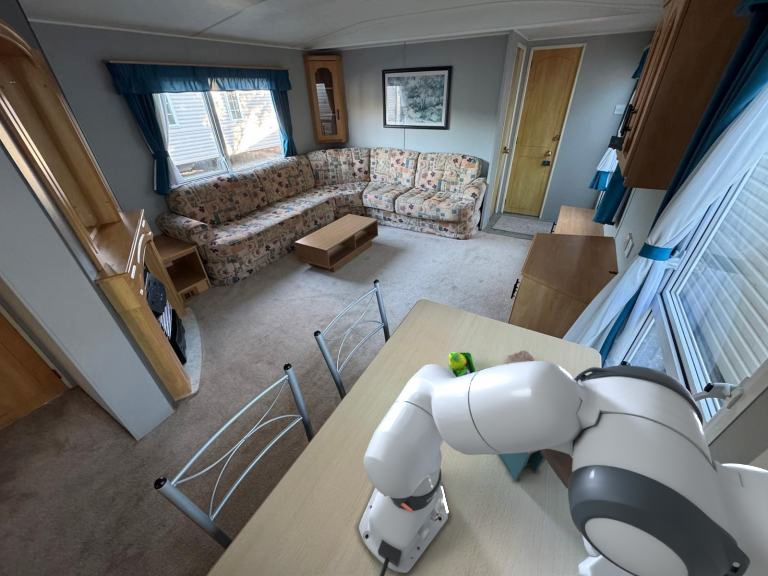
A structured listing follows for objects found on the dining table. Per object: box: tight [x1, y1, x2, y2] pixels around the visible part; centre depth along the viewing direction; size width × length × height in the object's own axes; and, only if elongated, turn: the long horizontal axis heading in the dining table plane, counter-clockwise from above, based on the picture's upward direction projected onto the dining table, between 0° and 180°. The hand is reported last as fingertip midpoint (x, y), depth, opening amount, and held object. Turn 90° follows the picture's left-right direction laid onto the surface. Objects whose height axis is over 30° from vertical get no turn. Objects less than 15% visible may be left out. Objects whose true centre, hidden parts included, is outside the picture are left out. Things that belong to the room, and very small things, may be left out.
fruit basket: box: [448, 351, 477, 377], centre depth 101 cm, size 11×9×11 cm
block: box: [539, 449, 573, 489], centre depth 70 cm, size 22×4×4 cm, turn 19°
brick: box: [504, 349, 536, 364], centre depth 101 cm, size 17×8×5 cm, turn 20°
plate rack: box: [497, 450, 545, 482], centre depth 76 cm, size 12×15×26 cm
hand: (598, 506), depth 56 cm, fingers open, 8 cm apart
